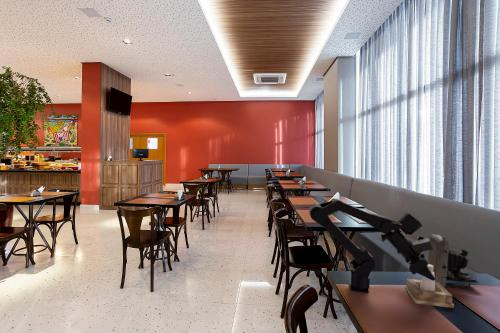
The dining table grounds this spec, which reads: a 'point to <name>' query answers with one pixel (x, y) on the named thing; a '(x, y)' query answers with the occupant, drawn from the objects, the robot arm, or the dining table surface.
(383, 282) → the dining table surface
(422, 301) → the socket holder
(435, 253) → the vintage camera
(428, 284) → the pepper shaker
